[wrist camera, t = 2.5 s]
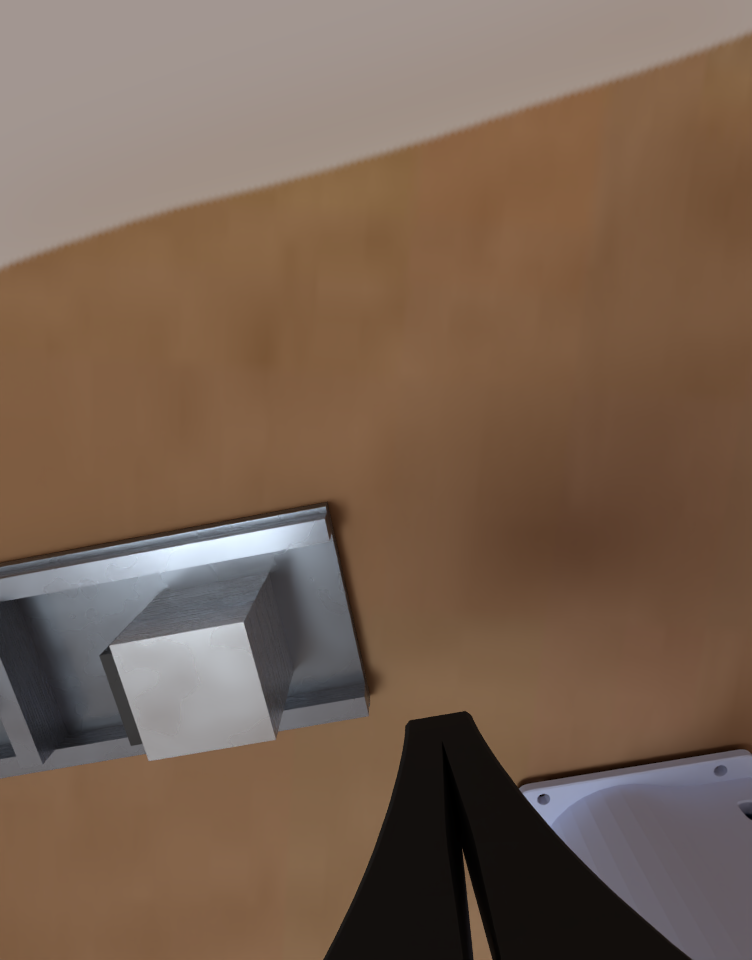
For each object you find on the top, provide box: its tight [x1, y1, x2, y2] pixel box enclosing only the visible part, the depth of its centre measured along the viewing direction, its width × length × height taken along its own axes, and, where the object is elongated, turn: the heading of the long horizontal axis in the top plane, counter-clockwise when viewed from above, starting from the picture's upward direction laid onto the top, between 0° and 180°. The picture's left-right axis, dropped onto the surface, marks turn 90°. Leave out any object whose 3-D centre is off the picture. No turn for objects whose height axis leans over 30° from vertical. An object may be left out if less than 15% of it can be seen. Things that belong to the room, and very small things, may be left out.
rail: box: [0, 502, 370, 778], centre depth 17 cm, size 20×8×4 cm, turn 101°
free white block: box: [99, 573, 294, 761], centre depth 17 cm, size 5×4×4 cm
